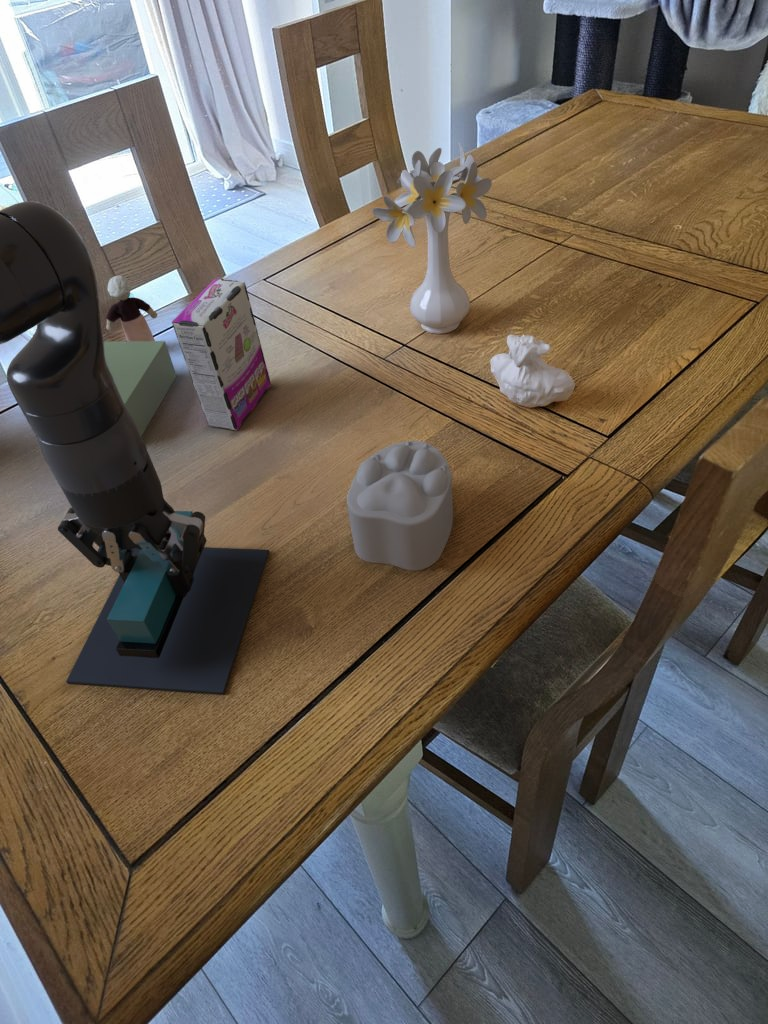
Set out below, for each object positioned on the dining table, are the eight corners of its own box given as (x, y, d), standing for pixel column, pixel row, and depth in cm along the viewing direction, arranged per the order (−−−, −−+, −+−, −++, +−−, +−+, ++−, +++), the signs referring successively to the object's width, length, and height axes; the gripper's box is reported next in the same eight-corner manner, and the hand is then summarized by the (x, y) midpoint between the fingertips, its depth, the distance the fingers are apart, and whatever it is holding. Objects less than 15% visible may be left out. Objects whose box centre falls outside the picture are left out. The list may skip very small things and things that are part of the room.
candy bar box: (242, 381, 103) (213, 277, 91) (272, 385, 101) (247, 280, 90) (204, 427, 95) (169, 320, 84) (237, 432, 94) (204, 324, 82)
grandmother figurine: (159, 338, 114) (133, 264, 105) (170, 347, 111) (144, 272, 102) (115, 357, 110) (85, 282, 101) (126, 366, 108) (95, 291, 99)
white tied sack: (487, 400, 98) (462, 371, 88) (509, 351, 98) (486, 316, 88) (566, 426, 93) (548, 398, 83) (589, 374, 93) (575, 340, 83)
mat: (67, 683, 68) (65, 681, 67) (135, 546, 80) (134, 544, 80) (224, 694, 65) (222, 692, 65) (269, 551, 78) (268, 549, 78)
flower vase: (374, 347, 106) (356, 176, 89) (431, 292, 117) (426, 130, 99) (450, 366, 101) (447, 189, 83) (503, 307, 112) (510, 139, 94)
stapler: (159, 658, 65) (142, 628, 62) (119, 656, 66) (100, 626, 62) (207, 540, 76) (195, 509, 72) (172, 539, 76) (158, 508, 73)
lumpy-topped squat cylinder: (344, 557, 76) (333, 500, 70) (381, 479, 85) (375, 423, 79) (435, 575, 74) (432, 518, 67) (464, 493, 82) (464, 435, 76)
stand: (66, 446, 95) (48, 411, 91) (115, 375, 107) (101, 341, 102) (135, 447, 93) (119, 412, 89) (177, 375, 105) (165, 340, 101)
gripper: (0, 488, 56) (82, 615, 68) (165, 493, 54) (220, 623, 66) (43, 430, 62) (112, 558, 74) (195, 433, 59) (241, 563, 72)
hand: (163, 588), depth 70 cm, fingers closed on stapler, 4 cm apart
